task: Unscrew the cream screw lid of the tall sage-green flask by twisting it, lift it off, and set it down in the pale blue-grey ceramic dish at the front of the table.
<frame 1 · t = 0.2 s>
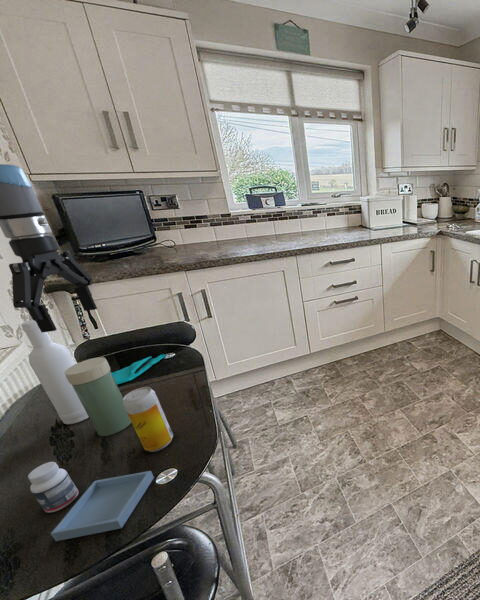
hand: (71, 319, 83), 30 cm above the table, tool pointing down, fingers open, 13 cm apart
cloth: (125, 375, 114), on the table
dish: (109, 506, 65), on the table
beer can: (160, 444, 81), on the table
flask: (115, 425, 89), on the table
pill bottle: (62, 502, 68), on the table
bottle: (81, 415, 95), on the table
flask lid: (86, 367, 82), point 19 cm above the table, screwed on, not yet turned
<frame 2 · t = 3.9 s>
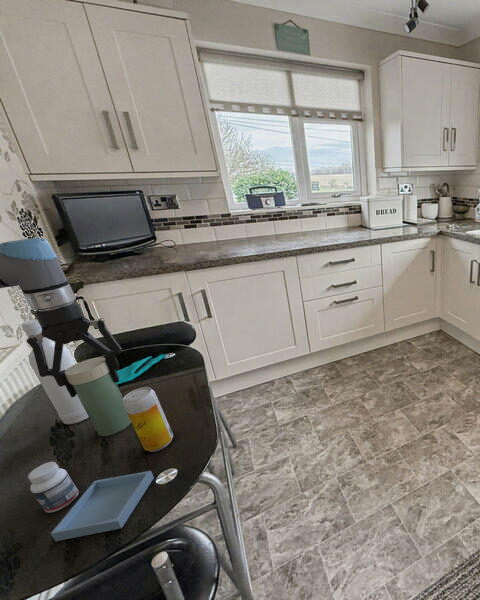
hand: (96, 386, 84), 13 cm above the table, tool pointing down, fingers closed on flask lid, 8 cm apart
flask lid: (86, 367, 82), point 19 cm above the table, screwed on, not yet turned, touching gripper
everything else where it was.
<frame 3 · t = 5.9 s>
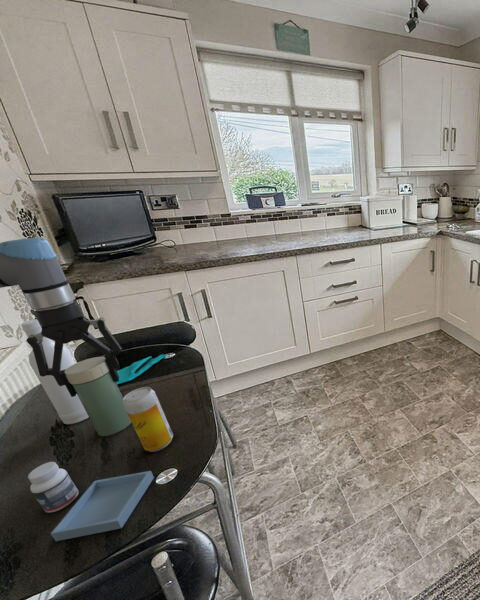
hand: (96, 386, 84), 13 cm above the table, tool pointing down, fingers closed on flask lid, 8 cm apart
flask lid: (86, 367, 82), point 19 cm above the table, turned 180° so far, risen 0.1 cm, still on its thread, touching gripper
everything else where it was.
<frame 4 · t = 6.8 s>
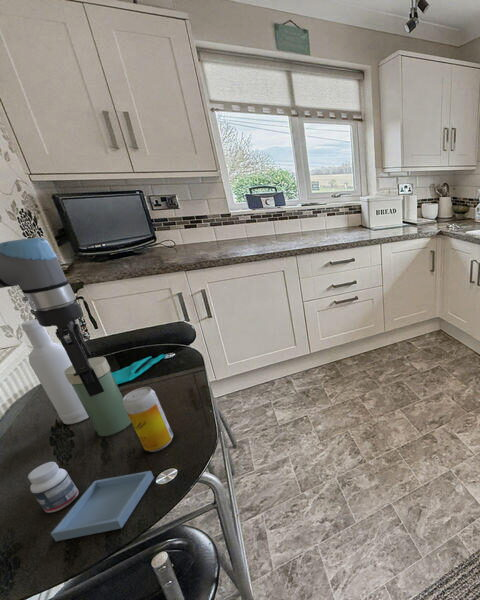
hand: (96, 386, 84), 13 cm above the table, tool pointing down, fingers closed on flask lid, 8 cm apart
flask lid: (86, 367, 82), point 19 cm above the table, off its thread, touching gripper
everything else where it was.
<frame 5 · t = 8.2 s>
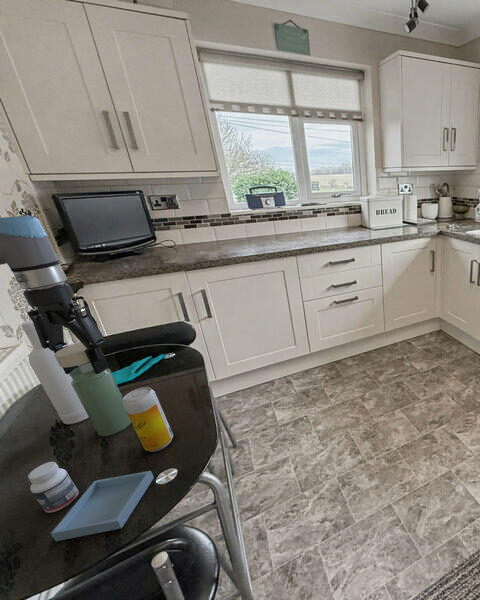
hand: (87, 370, 82), 18 cm above the table, tool pointing down, fingers closed on flask lid, 8 cm apart
flask lid: (77, 350, 80), point 24 cm above the table, off its thread, touching gripper
everything else where it was.
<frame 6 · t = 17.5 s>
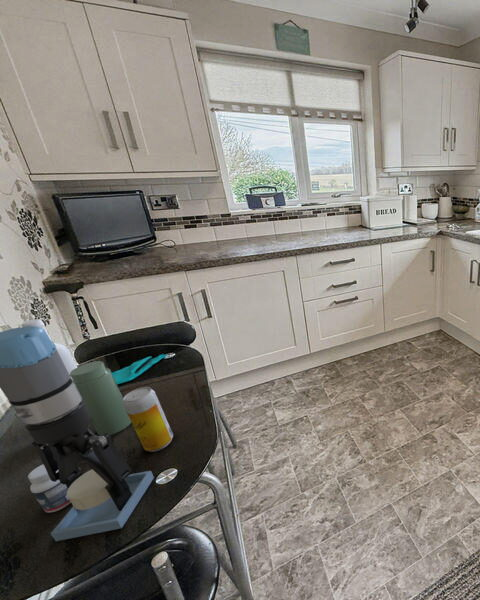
hand: (107, 503, 65), 1 cm above the table, tool pointing down, fingers closed on flask lid, 8 cm apart
flask lid: (95, 481, 63), point 7 cm above the table, off its thread, touching gripper
everything else where it was.
when the fingers open (2 cm above the table, at t = 27.1 s): flask lid drops 5 cm, resting on dish.
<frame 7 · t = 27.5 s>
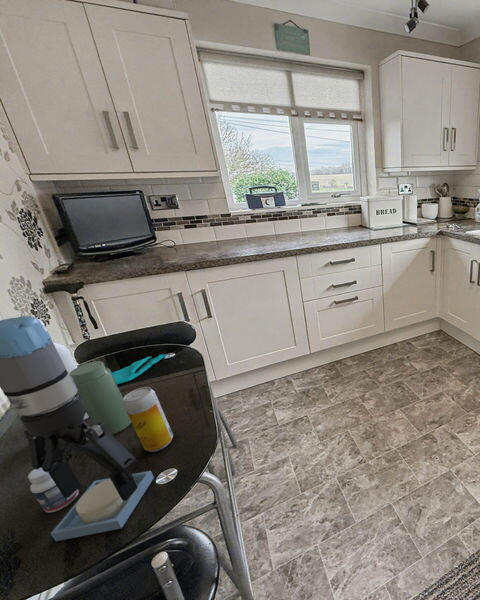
hand: (101, 492, 64), 4 cm above the table, tool pointing down, fingers open, 12 cm apart
flask lid: (103, 496, 64), point 3 cm above the table, off its thread, touching dish
everything else where it was.
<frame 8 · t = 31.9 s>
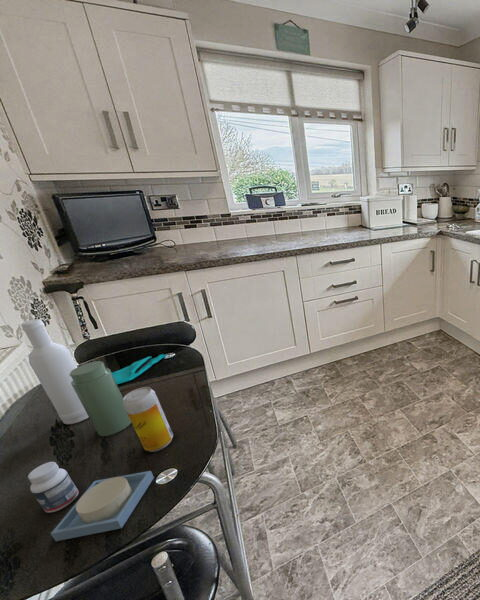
nothing on the table moved.
at the end: flask lid inside the target area on the dish (0.1 cm from its centre), point 3.0 cm above the dish's base; the gripper is holding nothing; flask tilted 0° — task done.
